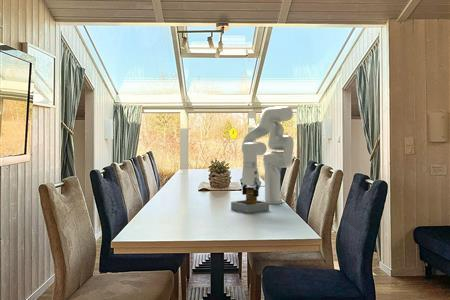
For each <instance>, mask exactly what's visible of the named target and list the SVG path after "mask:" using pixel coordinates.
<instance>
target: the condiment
mask: <svg viewBox="0 0 450 300" xmlns="http://www.w3.org/2000/svg"><path fill="white" fill-rule="evenodd" d="M253 190H254V188H253V186H249V187H248V186H247V192H246V195H245V200H246V205H251V204H257V200H258V198H257V197H254V196H253Z"/></svg>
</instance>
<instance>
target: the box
mask: <svg viewBox="0 0 450 300" xmlns="http://www.w3.org/2000/svg"><path fill="white" fill-rule="evenodd" d="M230 210H231V211H236V212H240V213H243V214H255V213H264V212H269V211H270V204H269V202H263V201H262V200H258V199H257V204H251V205H246V199H244V200H243V199H242V200H236V201H231V202H230Z"/></svg>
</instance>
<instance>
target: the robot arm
mask: <svg viewBox="0 0 450 300" xmlns="http://www.w3.org/2000/svg"><path fill="white" fill-rule="evenodd" d="M293 115H294V113H293V109H292V107H291V106H273V107H267V108H264V109H263V110H262V111H261V114H260V116H259V119H258V122H257V124H256V126H255V127H254V128H252V129H251V130H250V131H249V132H248V133H247V134H245V137H244V139H243V141H242V144H241V152H242V160H243V162H242V164H243V166H242V171H241V172H242V173H241V174H242V175H241V178H240V179H239V182H240V186H241V188H242V189H241V190H242V191H241V192H242V195H243V196H246V192H247V187H248V186H249V187H253V188H254V190H253V196H254V197H259V192H260V191H259V190H260V189H261V184H262V182H261V180H260V175H259V174H260V173H259V168H258V163H257V162H258V158H257V157H258V156H263V158H262V160H263V162H262V163H263V167H264V199H263V200H261V201H263V202H269V205H278V204H282V203H284V201H283V200H282V199H286V197H287V195H285V194H284V195H282V194H281V173H280V171H279V169H278V168H283V169H284V168H285V169H286V168H289V167H290V166H291V165H292V161H293V153H294V146H295V144H294V143H295V142H294V138H293V137H292V136H291V135H287V134H286V135H285V134H284V130H285V129H284V126H283V125H282V123H281V122H283V123H284V122H287V121H290V120H292V119H293ZM268 134H269V136H268V143H267V145H266V144H265V143H264V142H262V141H261V142H260V141H256V140H257V139H260V138H262V137H265V136H267V135H268ZM267 146H268V149H269V150H271V151H268V152H267Z"/></svg>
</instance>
